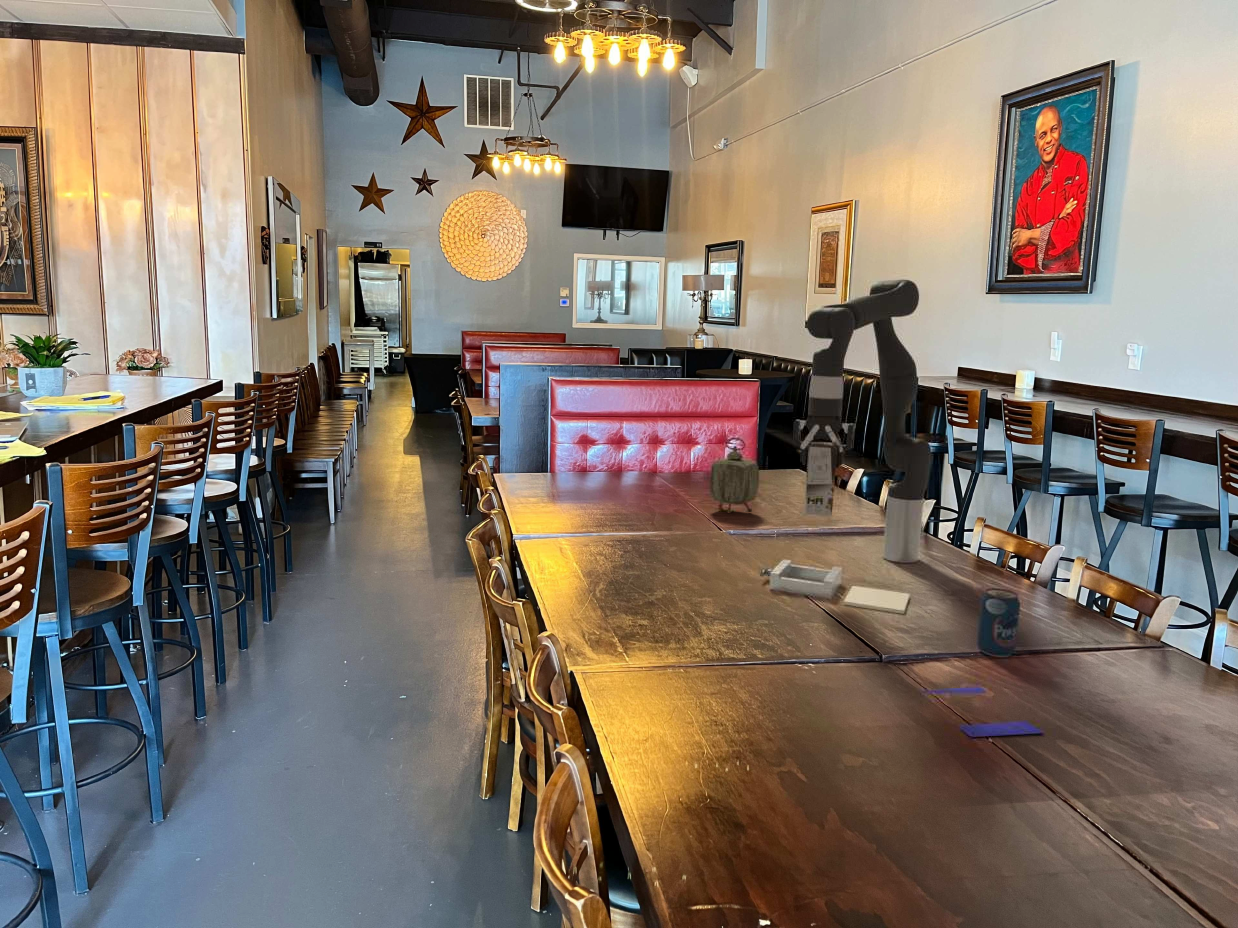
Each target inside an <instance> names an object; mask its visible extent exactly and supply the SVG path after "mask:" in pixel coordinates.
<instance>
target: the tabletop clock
mask: <svg viewBox="0 0 1238 928" xmlns="http://www.w3.org/2000/svg"><path fill="white" fill-rule="evenodd" d="M731 440H737V441H740V442H741V443H742V444H743V446H742V447H741V448H740V447H739V448H738V446H736V445H734V446H733V447H731V446H729V445H728V442H729V441H731ZM725 446H726V448H727V449H730V450H731V451H730V452H728V453H727V455H726V457H724V458H720V459H716V460H714V461H713V462H712V464H711V468H710V474H709V491H710V497H711V499H712V500H714V501H717V502H720V503H718V504H717V507H718V508H719V509H722V508H723V507H724V505H723V503H725V504H728V508H726V513H727V512H731V513H732V505H744V506H745V507H746V511H747V513H748V512H751V513H752V512H753V509H752V508H750V507H749V504H748V503H749V502H752V501H754V500H755V499H756V497H757V494H758V489H759V484H760V483H759V482H760V481H759V480H760V478H759V477H760V476H759V475H760V473H759V466H758V463H757V462H756V461H754V460H752V459H748V458H745V457H743V455H742V453H741V452H740V451H742V450H744V449H745V448H746V443H745V441H744V440H743V439H742V438H739V437H729V438H728V439H726V441H725Z"/></svg>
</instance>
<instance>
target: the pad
mask: <svg viewBox="0 0 1238 928" xmlns="http://www.w3.org/2000/svg"><path fill="white" fill-rule="evenodd" d="M910 595H911V594H910V593H905V592H897V591H891V590H885V589H884V590H883V589H878V588H871V587H864V586H858V585H857V586H856V585H852V586H851V588H850V589H849V592H848V593H847V595H846V596H845V599H844V600H843V605H844V606H851V607H858V608H862V609H863V608H864V609H869V610H877V611H882V612H890V613H896V614H903V615H904V614H905V611H906V607H907V606H908V604H909V603H908V602H909V600H910Z"/></svg>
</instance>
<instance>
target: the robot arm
mask: <svg viewBox="0 0 1238 928" xmlns="http://www.w3.org/2000/svg"><path fill="white" fill-rule="evenodd" d="M919 292H920V291H919V288H918V286H917V284H916V283H915V282H914V281H912V280H909V279H892V280H880V281H875V282H874V283H873V284H872V285H871V287H870V289H869V293H868V294H869V295H863V296H859V297H855V298H852V299H849V300H847V301H844V302H842V303H836V304H829V305H823V306H819V307H816V308H814V309H813V310H812V311H811V312H810V313H809V315H808V317H807V320H806V328H807V331H808V333H809V334H810V335H811V336H812V337H814V338H816V339H822V340H823V339H824V340H831V342H830V345H829V346H828V347H827V348H823V349H818V350H816V351H814V353H813V355H812V356H813V357H812V365H811V366H812V367H811V380H810V383H809V384H810V385H809V390H808V394H809V396H808V408H807V409H808V411H807V419H806V420H801V419H795V420H794V421H793V428H792V430H793V436H792V445H793V446H796V447H798V448H799V449H800V456H799V457H800V459H799V460H800V463H802V466H807V459H808V445H809V443H810V442H813V440H814V439H815V440H821V439H822V440H825V441H832V443H833V444H834V445H835V446H837V455H836V469H840V468H841V466H843V464H844V457H845V452H846V451H850V450H851V449H853V448H854V447H853V446H854V438H855V431H856V430H855V429H856V425H855V423H845V422H844V423H843V421H842V413H843V401H844V399H843V397H844V367H845V366H844V365H845V358H846V355H847V351H848V349H849V345H850V342H851V339H852V337H853V334H854V331H856V330H859V329H861V328H864V327H866V326H868V325H871V324H872V326H873V333H874V338H875V343H876V349H877V350H876V351H877V359H878V360H877V361H878V369H879V371H878V372H879V383H880V390H881V398H882V399H881V400H882V410H883V455H884V459H885V462H886V464H887V466H888V467H889V468H890V469H892V470H897V471H899V472H905V474H904V478H903V480H902V481H900V482H895V483H891V484H889V486H888V491H887V500H886V501H887V502H886V513H885V522H884V523H885V524H884V535H883V537H884V538H883V548H882V558H883V559H885V560H887V561H891V562H895V563H906V564H910V563H911V564H912V563H917V562H918V560H919V552H920V544H921V543H920V541H921V532H922V531H921V530H922V523H923V521H922V520H923V509H924V501H925V500H924V499H925V492H926V490H927V487H928V483H929V475H930V468H931V462H932V449H931V445H930V443H929V441H927V440H925V439H921V438H916V437H908V436H907V434H906V417H907V414H908V412H909V409H910V408H911V406H912V405H913V403H914V400H915V398H916V396H917V394H918V390H919V382H918V374H917V373H918V372H917V371H918V370H917V364H916V362H915V360H914V358H913V356H912V355H911V354H910V352H909V351H908V350H907V348H906V347H905V345H904V344H903V343H902V341H900V339H899V337H898V335H897V334H896V331H895V327H894V324H893V320H892V318H901V317H907V316H910V315H912V314H914V312H915V311H916V309H917V307H918V306H919V302H920V293H919ZM804 426H805V427H806V428H807V429H808V431H809V433H808V434H807V435H806V437H805V438H804V440H803V441H802V439H801V435H802V434H801V433H802V430H803V428H804ZM842 429H843V430H844V432H845V433H846V443H845V444H843V441H842V439H841V437H840V435H839V434H838V433H840V431H841V430H842Z"/></svg>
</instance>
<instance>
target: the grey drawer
mask: <svg viewBox="0 0 1238 928" xmlns="http://www.w3.org/2000/svg"><path fill="white" fill-rule="evenodd" d="M842 569H843V568H842V567H841V566H833V567H832V568H831V569H825V568H819V567H812V566H806V565H797V564H792V560H791V559H782V560H781V561H780V562H779V564H777V565H776V566H775V567H774V568H773V569H770V568H769V567H765V568H764V569H763V570H762V571H761V572H759V577H765V576H767V577H769V589H768V590H771V589H774V590H773V591H778V590H780V591H779V592H784V591H786V592H785V593H792V594H797V595H803V596H804V595H805V596H811V597H818V598H824V599H832V598H833V596H834V595H835V593H836V591H837V590H838V588H839V587H840V585H841V583H842Z"/></svg>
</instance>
